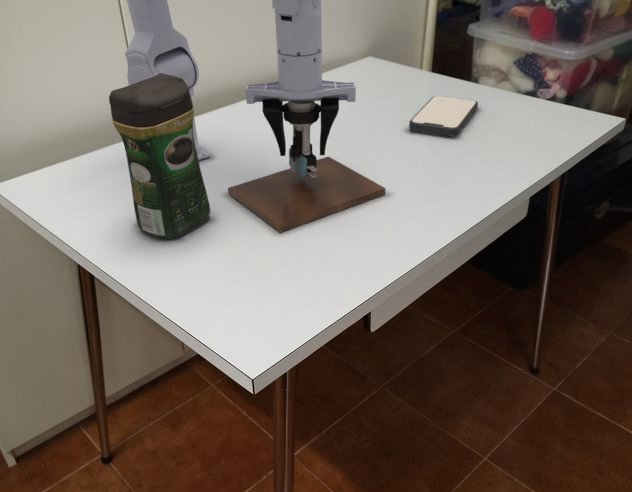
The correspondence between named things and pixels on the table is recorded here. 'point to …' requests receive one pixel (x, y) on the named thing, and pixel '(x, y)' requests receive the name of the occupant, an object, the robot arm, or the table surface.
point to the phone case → (443, 115)
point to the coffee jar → (161, 154)
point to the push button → (302, 135)
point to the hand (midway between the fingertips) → (303, 152)
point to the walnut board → (305, 194)
